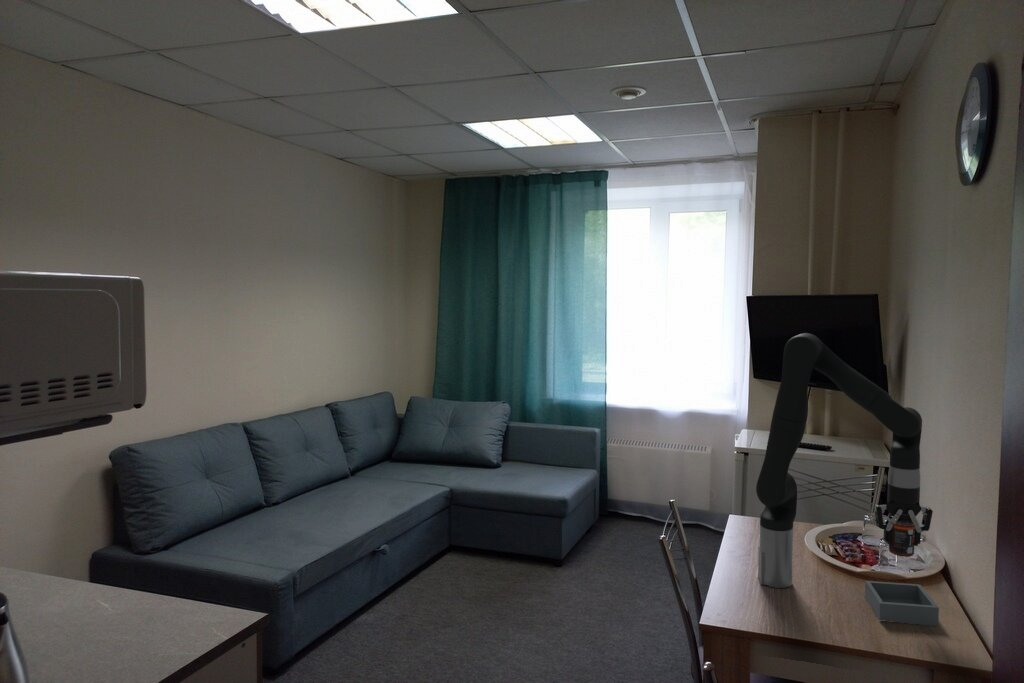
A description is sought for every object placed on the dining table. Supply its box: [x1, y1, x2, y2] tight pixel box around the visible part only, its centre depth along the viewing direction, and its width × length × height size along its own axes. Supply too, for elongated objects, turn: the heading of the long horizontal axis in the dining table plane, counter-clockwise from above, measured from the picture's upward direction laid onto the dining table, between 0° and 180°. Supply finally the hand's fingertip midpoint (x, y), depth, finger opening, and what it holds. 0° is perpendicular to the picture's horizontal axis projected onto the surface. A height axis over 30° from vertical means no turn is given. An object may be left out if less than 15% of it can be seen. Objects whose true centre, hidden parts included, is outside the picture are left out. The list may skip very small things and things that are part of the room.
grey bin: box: [864, 580, 940, 627], centre depth 191 cm, size 14×14×5 cm
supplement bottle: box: [888, 514, 915, 558], centre depth 189 cm, size 6×6×11 cm
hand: (901, 543), depth 189 cm, fingers closed on supplement bottle, 6 cm apart
